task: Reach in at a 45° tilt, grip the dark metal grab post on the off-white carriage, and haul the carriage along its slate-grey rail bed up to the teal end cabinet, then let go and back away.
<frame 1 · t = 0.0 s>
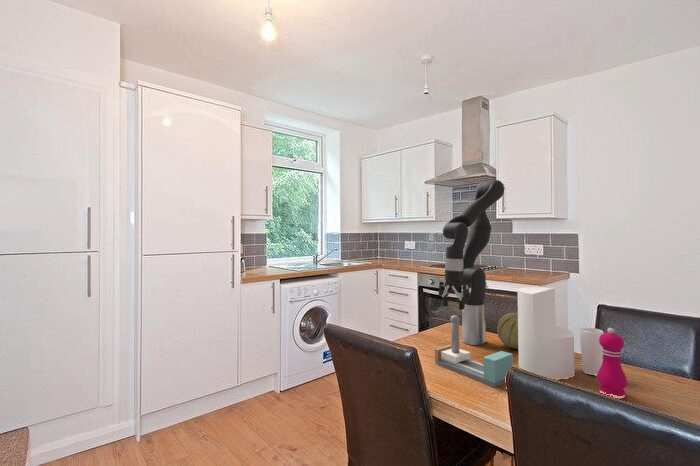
hand: (453, 307, 147), 17 cm above the table, tool pointing down, fingers open, 8 cm apart
drinking glass: (592, 374, 119), on the table
rail bed: (471, 370, 123), on the table
cantaloupe: (515, 348, 146), on the table
carriage: (455, 336, 129), point 11 cm above the table, slide at 0.0 cm
pepper mill: (612, 395, 104), on the table
white stepped block: (545, 370, 123), on the table
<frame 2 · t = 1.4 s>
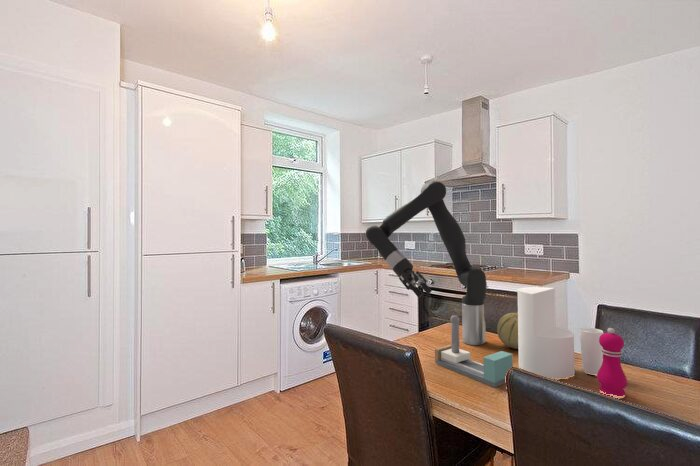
hand: (425, 294, 136), 25 cm above the table, tool tilted 45°, fingers open, 8 cm apart
nothing on the table moved.
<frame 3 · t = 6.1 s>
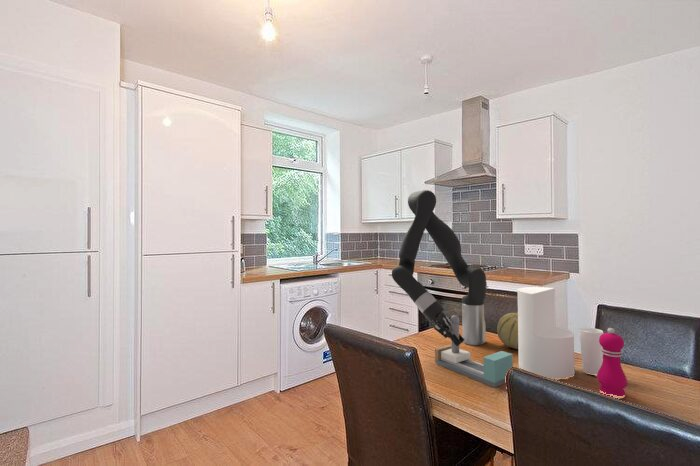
hand: (460, 343, 128), 8 cm above the table, tool tilted 45°, fingers closed on carriage, 3 cm apart
carriage: (455, 336, 129), point 11 cm above the table, slide at 0.0 cm, touching gripper
everything else where it was.
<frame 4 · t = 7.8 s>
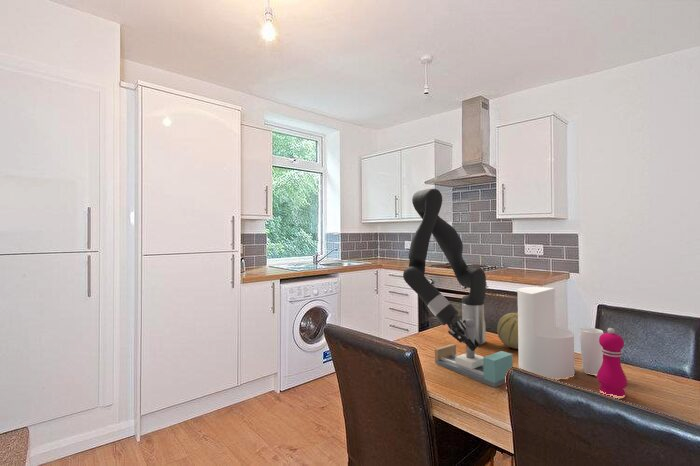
hand: (476, 347, 122), 8 cm above the table, tool tilted 45°, fingers closed on carriage, 3 cm apart
carriage: (470, 341, 123), point 11 cm above the table, slide at 6.7 cm, touching gripper
everything else where it was.
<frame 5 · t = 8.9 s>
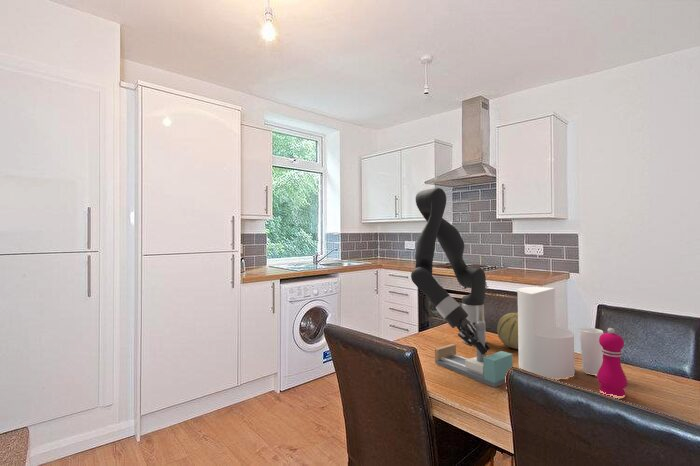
hand: (486, 351, 119), 8 cm above the table, tool tilted 45°, fingers closed on carriage, 3 cm apart
carriage: (480, 344, 120), point 11 cm above the table, slide at 10.9 cm, touching gripper
everything else where it was.
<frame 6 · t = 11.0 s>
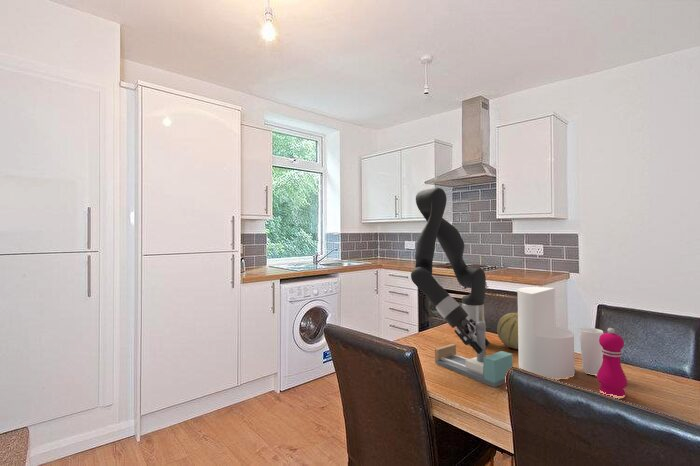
hand: (484, 348, 119), 9 cm above the table, tool tilted 45°, fingers open, 8 cm apart
carriage: (480, 344, 120), point 11 cm above the table, slide at 11.0 cm
everything else where it was.
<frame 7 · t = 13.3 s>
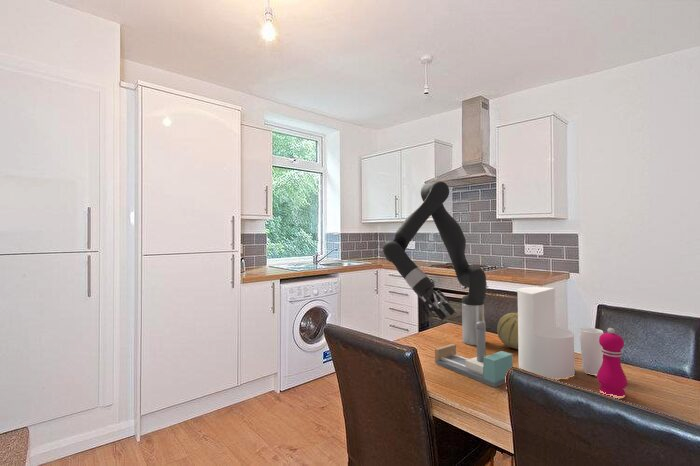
hand: (449, 316, 126), 19 cm above the table, tool tilted 45°, fingers open, 8 cm apart
nothing on the table moved.
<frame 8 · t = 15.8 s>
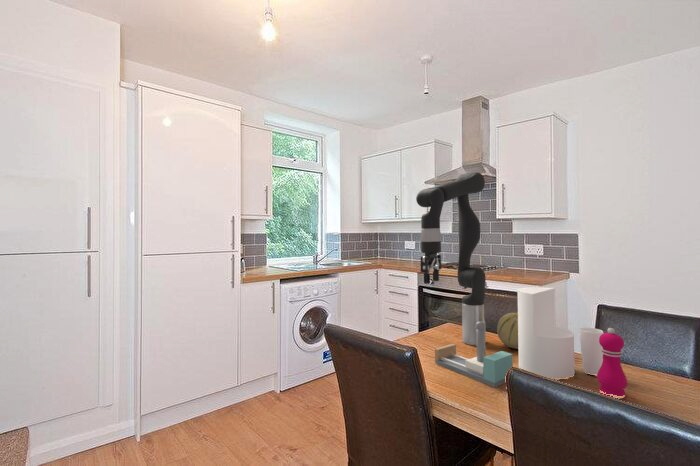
hand: (431, 282, 134), 30 cm above the table, tool pointing down, fingers open, 8 cm apart
nothing on the table moved.
at the end: carriage slide at 11.0 cm; the gripper is holding nothing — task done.
